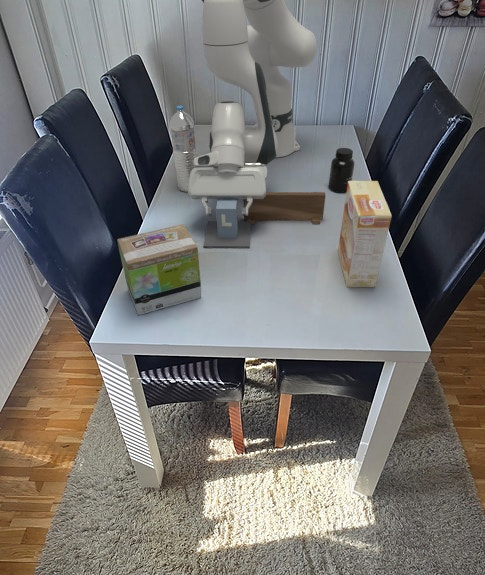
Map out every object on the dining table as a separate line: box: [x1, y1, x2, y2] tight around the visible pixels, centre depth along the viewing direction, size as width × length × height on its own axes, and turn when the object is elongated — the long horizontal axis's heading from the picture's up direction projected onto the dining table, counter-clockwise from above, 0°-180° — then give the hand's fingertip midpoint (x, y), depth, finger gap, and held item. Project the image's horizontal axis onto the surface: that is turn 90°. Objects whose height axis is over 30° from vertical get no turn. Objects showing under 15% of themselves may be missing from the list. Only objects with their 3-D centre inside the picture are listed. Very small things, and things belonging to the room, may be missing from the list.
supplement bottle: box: [328, 147, 355, 194], centre depth 134 cm, size 7×7×12 cm
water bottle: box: [169, 104, 198, 193], centre depth 132 cm, size 7×7×25 cm
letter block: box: [215, 199, 239, 238], centre depth 117 cm, size 5×5×9 cm
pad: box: [203, 220, 252, 249], centre depth 120 cm, size 12×12×1 cm
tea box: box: [117, 223, 202, 316], centre depth 98 cm, size 15×10×15 cm
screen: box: [242, 191, 327, 225], centre depth 123 cm, size 5×22×8 cm, turn 88°
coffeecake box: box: [337, 180, 393, 288], centre depth 102 cm, size 15×7×20 cm, turn 178°
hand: (227, 215), depth 115 cm, fingers open, 8 cm apart
